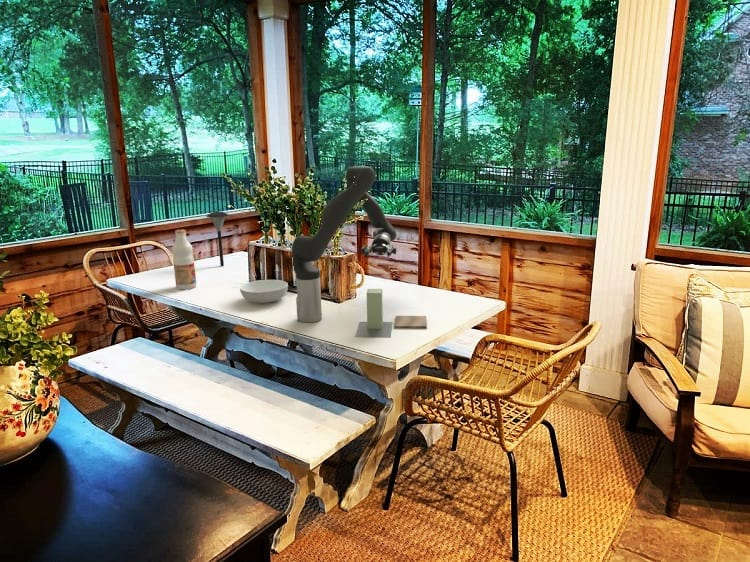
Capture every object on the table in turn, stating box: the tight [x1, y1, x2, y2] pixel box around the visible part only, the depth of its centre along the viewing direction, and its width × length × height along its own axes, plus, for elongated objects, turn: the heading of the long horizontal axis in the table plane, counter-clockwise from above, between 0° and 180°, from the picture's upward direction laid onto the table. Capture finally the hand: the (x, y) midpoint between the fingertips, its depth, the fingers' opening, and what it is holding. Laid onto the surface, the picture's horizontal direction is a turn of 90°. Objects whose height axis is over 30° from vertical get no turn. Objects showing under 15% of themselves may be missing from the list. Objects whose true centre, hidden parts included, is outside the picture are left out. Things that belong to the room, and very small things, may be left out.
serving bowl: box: [239, 279, 289, 304], centre depth 251 cm, size 21×21×7 cm
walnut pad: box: [394, 315, 428, 330], centre depth 219 cm, size 12×12×1 cm
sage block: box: [366, 288, 384, 329], centre depth 214 cm, size 6×6×14 cm
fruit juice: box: [171, 229, 197, 290], centre depth 271 cm, size 9×9×28 cm
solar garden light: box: [206, 211, 230, 267], centre depth 311 cm, size 12×12×30 cm
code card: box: [354, 321, 393, 339], centre depth 213 cm, size 13×17×1 cm
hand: (377, 254), depth 226 cm, fingers open, 8 cm apart
